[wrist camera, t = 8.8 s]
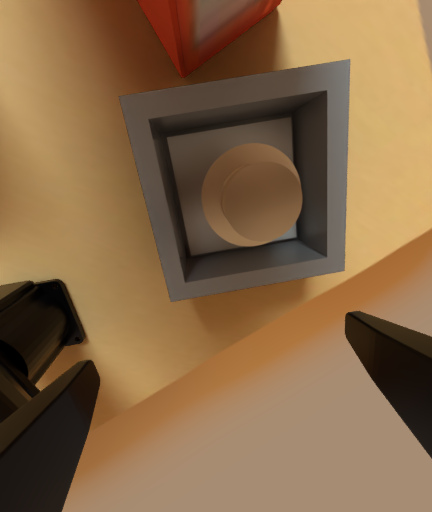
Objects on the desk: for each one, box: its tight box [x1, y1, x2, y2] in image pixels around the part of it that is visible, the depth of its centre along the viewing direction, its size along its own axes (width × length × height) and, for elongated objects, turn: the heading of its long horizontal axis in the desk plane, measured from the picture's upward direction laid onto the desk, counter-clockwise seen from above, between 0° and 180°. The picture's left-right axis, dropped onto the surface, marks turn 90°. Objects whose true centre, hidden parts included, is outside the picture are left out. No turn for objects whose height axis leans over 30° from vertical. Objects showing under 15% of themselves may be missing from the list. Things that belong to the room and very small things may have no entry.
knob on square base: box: [167, 117, 303, 256], centre depth 15 cm, size 9×9×8 cm
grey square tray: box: [119, 59, 350, 302], centre depth 17 cm, size 12×12×6 cm
